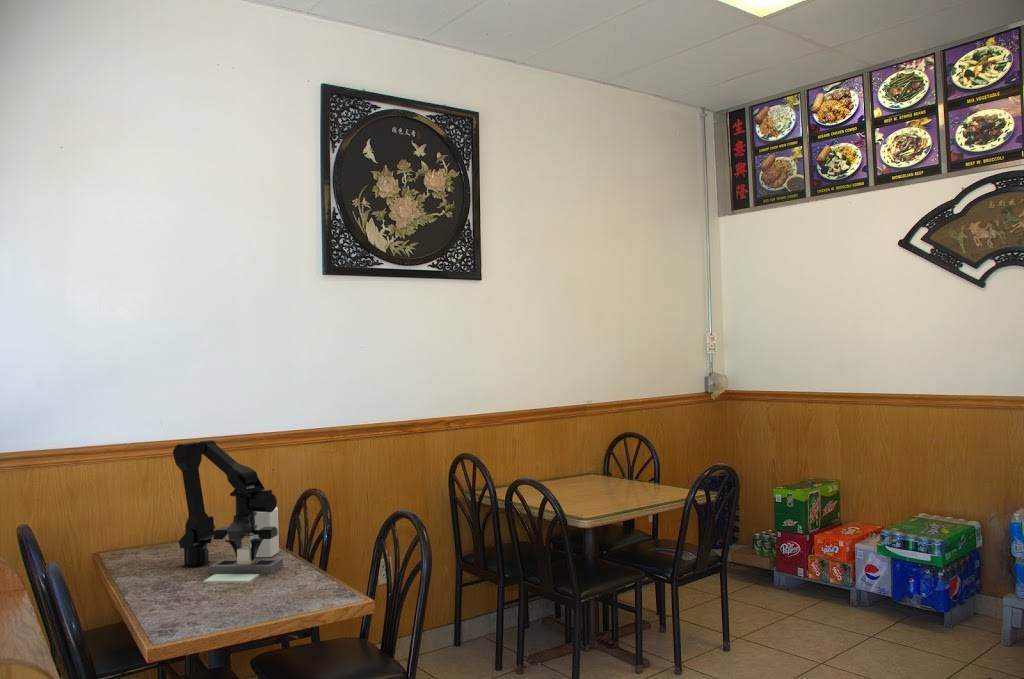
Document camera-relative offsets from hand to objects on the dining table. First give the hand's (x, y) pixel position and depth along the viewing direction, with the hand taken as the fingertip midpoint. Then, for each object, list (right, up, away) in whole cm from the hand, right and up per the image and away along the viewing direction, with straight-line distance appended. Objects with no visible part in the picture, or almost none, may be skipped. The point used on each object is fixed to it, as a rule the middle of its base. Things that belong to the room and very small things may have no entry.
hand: (246, 560), depth 243 cm
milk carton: (0, -4, +19) cm, 19 cm away
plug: (0, -3, 0) cm, 3 cm away
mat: (-1, -3, -10) cm, 10 cm away
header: (0, -3, 0) cm, 3 cm away
